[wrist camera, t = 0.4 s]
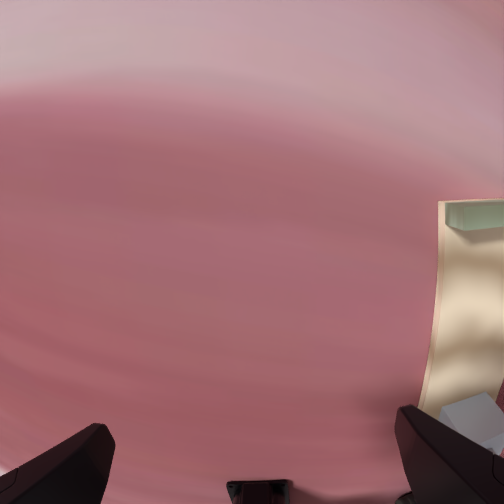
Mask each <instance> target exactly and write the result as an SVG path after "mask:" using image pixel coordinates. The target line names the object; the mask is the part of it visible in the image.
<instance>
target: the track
mask: <svg viewBox="0 0 504 504" xmlns="http://www.w3.org/2000/svg"><path fill="white" fill-rule="evenodd" d="M438 229H439V231H438V269H437V286H436V298H435V309H434V318H433V326H432V334H431V341H430V348H429V354H428V360H427V366H426V371H425V376H424V381H423V386H422V391H421V396H420V400H419V404H418V408H419V409H420V410H422V411H424V412H425V413H427V414H428V415H430V416H432V417H433V418H435V419H437V420H438V419H439V416H440V412H441V409H442V407H443V406H446V405H449V404H452V403H455V402H458V401H461V400H464V399H467V398H470V397H473V396H475V395H478V394H481V393H483V392H487V393H488V394H489V396H490V397H491V398H492V399H493V401H494V402H495V401H496V399H497V396H498V393H499V390H500V388H501V385H502V382H503V379H504V198H491V199H470V200H451V201H438Z"/></svg>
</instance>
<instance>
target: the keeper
mask: <svg viewBox="0 0 504 504" xmlns="http://www.w3.org/2000/svg"><path fill="white" fill-rule="evenodd" d="M438 421H440V422H442V423H443V424H445V425H447V426H448V427H450V428H452V429H453V430H455V431H457V432H459V433H460V434H462V435H464V436H465V437H467V438H469V439H470V440H472V441H474V442H476V443H477V444H479V445H481V446H483V447H484V448H486V449H488V450H490V451H491V452H493V454H497V455H500V454H501V452H502V450H503V448H504V413H503V412H502V410H501V409H500V408H499V407H498V405H497V404H496V403H495V402H494V401H493V399H492V398H491V397H490V396H489V394H488V393H487V392H483V393H481V394H478V395H475V396H473V397H470V398H467V399H464V400H461V401H458V402H455V403H452V404H449V405H446V406H443V407H442V409H441V412H440V416H439V419H438Z"/></svg>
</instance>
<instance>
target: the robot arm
mask: <svg viewBox="0 0 504 504" xmlns="http://www.w3.org/2000/svg"><path fill="white" fill-rule="evenodd" d="M395 435H396V439H397V443H398V446H399V450H400V454H401V458H402V463H403V467H404V470H405V474H406V477H407V479H408V482H409V485H410V487H411V490H412V493H413V495H414V498H415V501H416V503H417V504H504V458H502V457H501V456H499V455H497V454H493V452H491V451H490V450H488V449H486V448H484V447H483V446H481V445H479V444H477V443H476V442H474V441H472V440H470V439H469V438H467V437H465V436H464V435H462V434H460V433H459V432H457V431H455V430H453V429H452V428H450V427H448V426H447V425H445V424H443V423H442V422H440V421H438V420H437V419H435V418H433V417H432V416H430V415H428V414H427V413H425V412H424V411H422V410H420V409H419V408H417V407H415V406H414V405H411V404H410V405H406V406H402V407H399V408H398V411H397V416H396V421H395ZM114 451H115V441H114V439H113V437H112V435H111V433H110V431H109V429H108V427H107V426H106V425H105V424H100V423H93V424H91V425H90V426H88V427H86V428H85V429H83V430H81V431H80V432H78V433H76V434H75V435H73V436H71V437H70V438H68V439H66V440H65V441H63V442H61V443H60V444H58V445H56V446H55V447H53V448H51V449H49V450H48V451H46V452H44V453H42V454H41V455H39V456H37V457H35V458H34V459H32V460H30V461H28V462H26V463H25V464H23V465H21V466H19V468H15V469H14V470H12V471H10V472H8V473H6V474H4V475H2V476H0V504H101V501H102V498H103V495H104V492H105V489H106V485H107V482H108V478H109V473H110V469H111V464H112V460H113V455H114ZM226 487H227V490H228V493H229V496H230V498H231V501H232V504H290V503H289V491H288V482H287V481H286V480H276V481H252V482H227V484H226Z"/></svg>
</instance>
